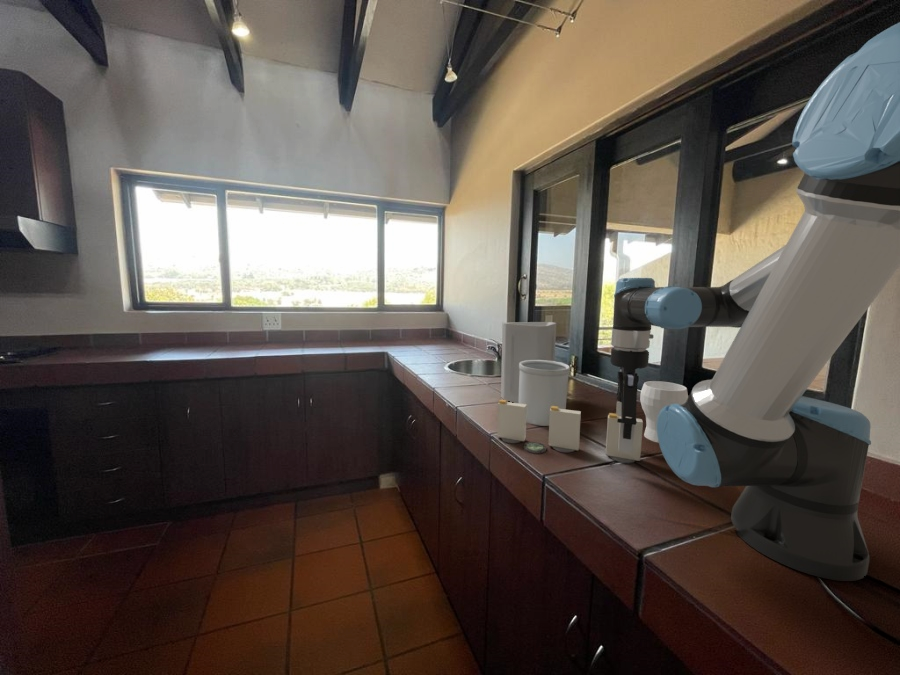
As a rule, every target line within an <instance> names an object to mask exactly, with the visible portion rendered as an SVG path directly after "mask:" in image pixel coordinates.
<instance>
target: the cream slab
mask: <svg viewBox="0 0 900 675" xmlns="http://www.w3.org/2000/svg"><path fill="white" fill-rule="evenodd" d="M526 414H527V404H519V403H512V402H508V401H507V400H503V399H502V398H501V399H500V400H498V403H497V427H496V428H497V433H496V434H497V435H496V436H497V437H498V438H501V441H502V442H505V443H507V444H518V443H521V442H525V440H526V438H527V422H526Z"/></svg>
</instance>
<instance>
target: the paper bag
mask: <svg viewBox="0 0 900 675" xmlns="http://www.w3.org/2000/svg"><path fill="white" fill-rule="evenodd" d="M501 328H502V330H501V333H502V334H501V335H502V336H501V370H500V372H501V374H500V376H501V377H500V378H501V379H500V380H501V381H500V383H501V384H500V398H501V397H502V398H503V399H504V400H507V402H508V401H510V402H511V403H512V402H514V403H519V376H520V369H519V363H520V362H522V361H526V360H548V361H556V344H557V343H556V340H557V339H556V337H557V322H553V321H529V322H528V321H527V322H526V321H524V322H522V321H517V322H512V321H511V322H502V326H501ZM502 398H501V399H502ZM503 399H502V400H503Z"/></svg>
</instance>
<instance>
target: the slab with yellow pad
mask: <svg viewBox="0 0 900 675" xmlns="http://www.w3.org/2000/svg"><path fill="white" fill-rule="evenodd" d="M626 418H630V417H626ZM618 419H621V416H617V414H616V413H615V412H614V413H613V412H609V413H608V414H607V428H606V442H605V455H606V456H609V458H611V459H612V460H613V461H615V462H617V463H618V462H619V463H622V464H632V463H635V462H636V461H639V462H640V461H641V456H642V455H641V452H642V441H643V440H642V439H643V428H644V427H643V426H644V422H643V419H642V418H637V417H636V421H637V423H636V425H635V428H634V440H633V453H627V452H621V451H618V443H619V430H620V423H618V422H617V420H618Z"/></svg>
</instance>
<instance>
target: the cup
mask: <svg viewBox="0 0 900 675" xmlns="http://www.w3.org/2000/svg"><path fill="white" fill-rule="evenodd" d="M688 397H689V395H688V388H687V387H686V386H685V385H682V384H679V383H674V382H670V381H669V382H668V381H658V380H657V381H656V380H652V381H646V382H645V381H644V383H643V385H642V387H641V391H640V397H639V398H640V400H639V401H640V404H641V408H642V410H643V412H644V415H645V421H646V425H645V426H646V427H645V430H644V432H643V436H644V438H646V439H647V440H650V441H651V442H654V443H658V444H659V441H658V437H657V418H658V415H659V413H660V411H661V410H662V409H663V408H664V407H665V406H668V405H672V404H679V405H682V404H684V403H685V402H686V400H687V399H688Z"/></svg>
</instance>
